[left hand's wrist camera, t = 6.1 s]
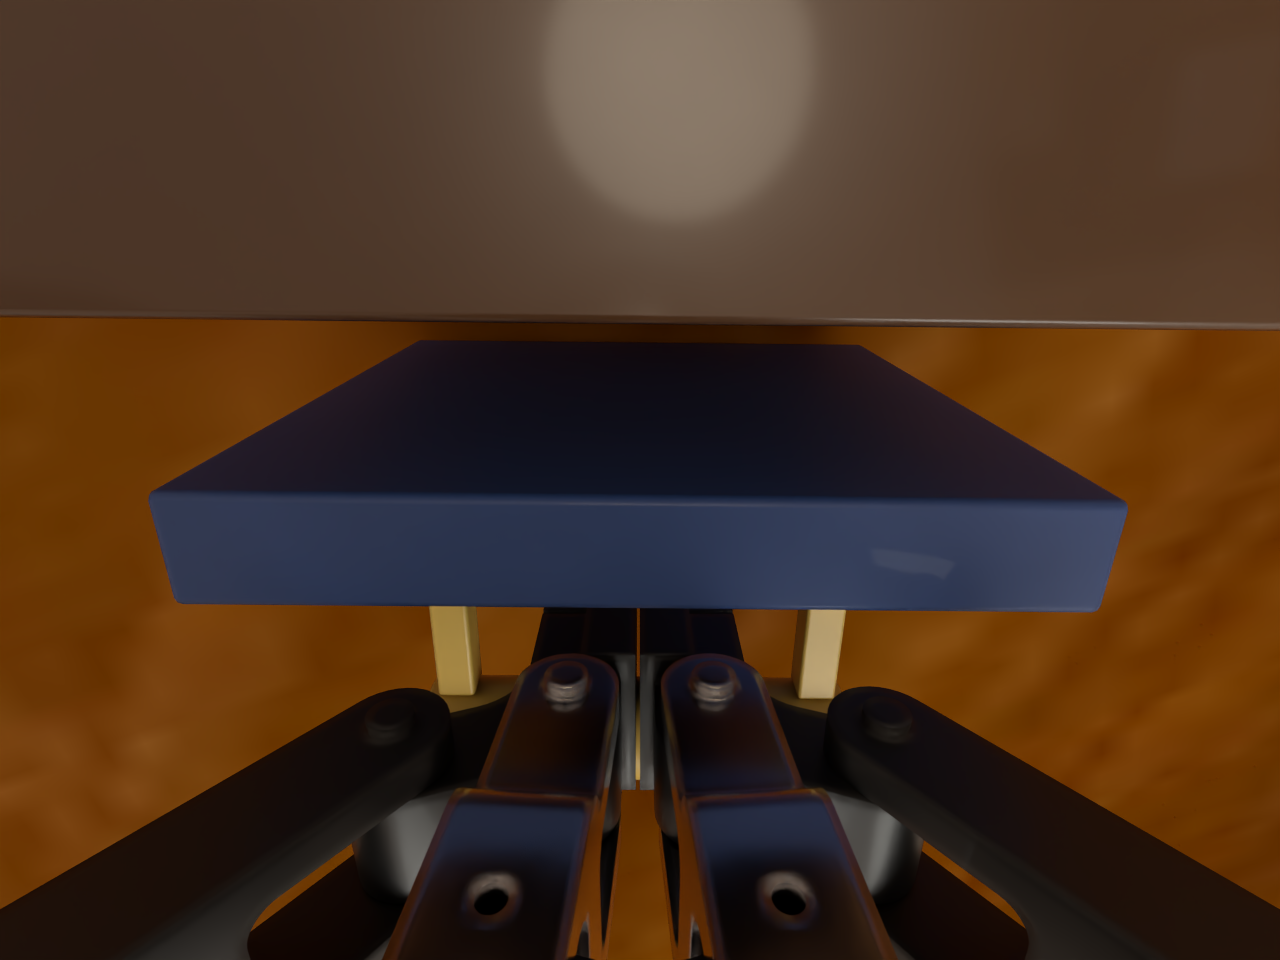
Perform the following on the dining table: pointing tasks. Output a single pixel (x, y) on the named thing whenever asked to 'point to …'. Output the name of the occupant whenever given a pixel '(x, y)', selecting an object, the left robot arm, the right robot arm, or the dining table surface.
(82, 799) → the dining table surface
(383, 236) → the cabinet
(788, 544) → the drawer
